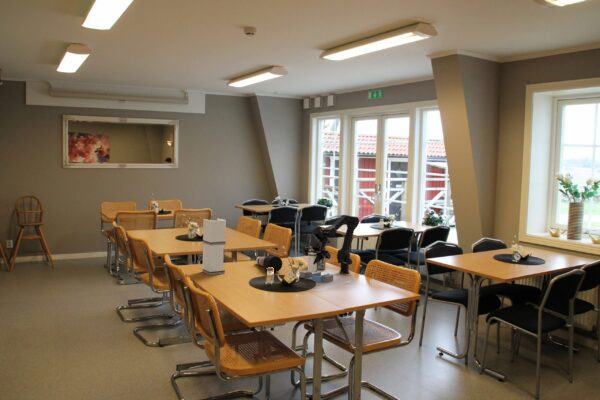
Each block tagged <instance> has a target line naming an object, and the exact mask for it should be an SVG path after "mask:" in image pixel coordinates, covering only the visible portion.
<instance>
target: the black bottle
mask: <svg viewBox="0 0 600 400" xmlns="http://www.w3.org/2000/svg"><path fill="white" fill-rule="evenodd" d="M255 263H256V264H257V265H258V266H260V267H264V269H265V270H266V268H268V267H273V268H274V272H275V273H276V272H279V271H280V270H281V269H282V267H283V260H282V258H280V257H279V256H274V255H266V256H257V258H256V259H255Z"/></svg>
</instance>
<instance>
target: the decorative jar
mask: <svg viewBox="0 0 600 400" xmlns="http://www.w3.org/2000/svg"><path fill="white" fill-rule="evenodd" d="M308 248H310V249H311V250H313V249H312V247H311V246H310V245H309V246H308ZM325 250H327V245H326V246H325ZM326 261H327V259H326V258H325V257H324V259H322V260H321V261H319V262H317V269H316V270H326Z"/></svg>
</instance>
